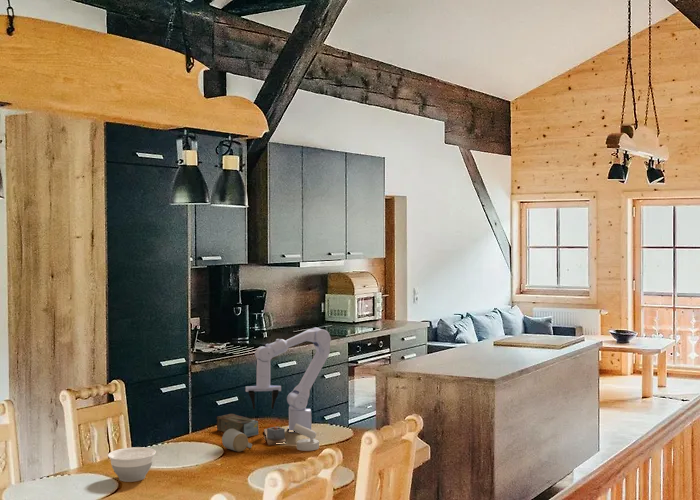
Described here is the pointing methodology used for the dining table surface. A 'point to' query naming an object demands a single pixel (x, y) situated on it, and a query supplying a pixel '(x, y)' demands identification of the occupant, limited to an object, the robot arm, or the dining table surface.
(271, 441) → the board
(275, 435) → the open square sleeve
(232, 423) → the beverage carton
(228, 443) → the ceramic mug
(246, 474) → the dining table surface
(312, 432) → the white round-based angled piece
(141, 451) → the bowl
